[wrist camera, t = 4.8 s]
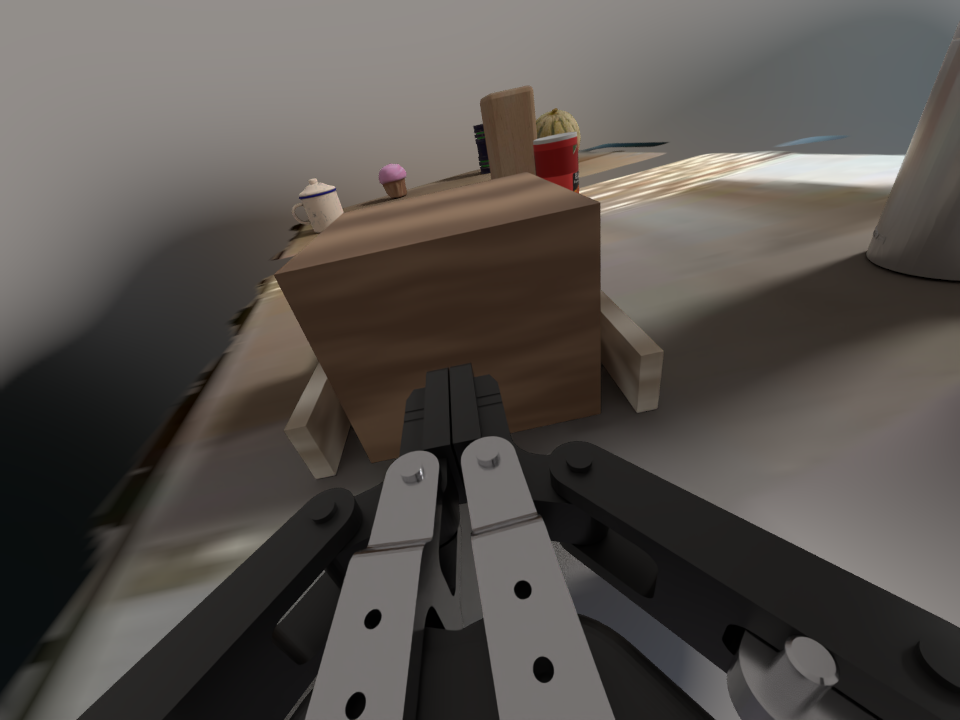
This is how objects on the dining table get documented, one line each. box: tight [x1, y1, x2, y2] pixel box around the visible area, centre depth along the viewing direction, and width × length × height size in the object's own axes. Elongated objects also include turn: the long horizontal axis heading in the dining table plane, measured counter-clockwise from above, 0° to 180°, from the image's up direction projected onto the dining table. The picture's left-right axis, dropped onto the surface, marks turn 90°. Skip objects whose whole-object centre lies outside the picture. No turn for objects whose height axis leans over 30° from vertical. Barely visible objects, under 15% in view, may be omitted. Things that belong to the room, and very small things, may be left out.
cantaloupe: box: [536, 108, 580, 150], centre depth 102 cm, size 15×15×15 cm
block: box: [480, 86, 537, 180], centre depth 83 cm, size 10×10×20 cm
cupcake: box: [379, 164, 407, 199], centre depth 117 cm, size 9×9×10 cm
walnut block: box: [274, 172, 601, 463], centre depth 24 cm, size 14×14×12 cm
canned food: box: [533, 132, 579, 194], centre depth 69 cm, size 8×8×11 cm
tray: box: [284, 290, 664, 479], centre depth 39 cm, size 45×20×5 cm, turn 6°
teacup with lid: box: [292, 179, 344, 233], centre depth 91 cm, size 12×9×12 cm
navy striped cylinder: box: [474, 124, 490, 174], centre depth 129 cm, size 10×10×15 cm
